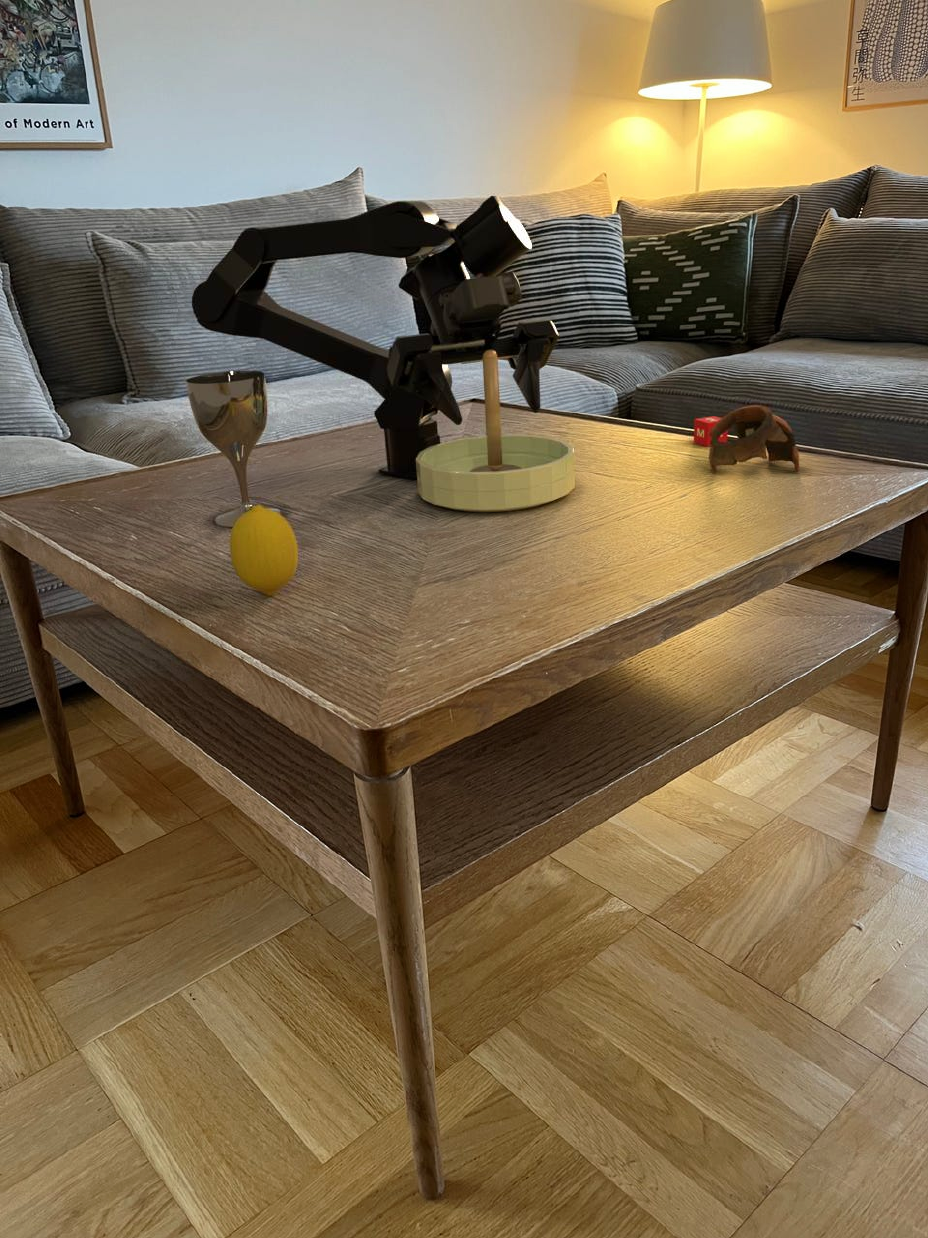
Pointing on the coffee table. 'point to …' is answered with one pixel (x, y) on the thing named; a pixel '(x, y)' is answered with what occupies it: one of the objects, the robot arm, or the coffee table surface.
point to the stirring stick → (492, 416)
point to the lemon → (263, 549)
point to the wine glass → (231, 421)
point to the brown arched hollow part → (753, 438)
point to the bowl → (496, 473)
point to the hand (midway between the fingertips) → (499, 416)
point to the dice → (706, 430)
